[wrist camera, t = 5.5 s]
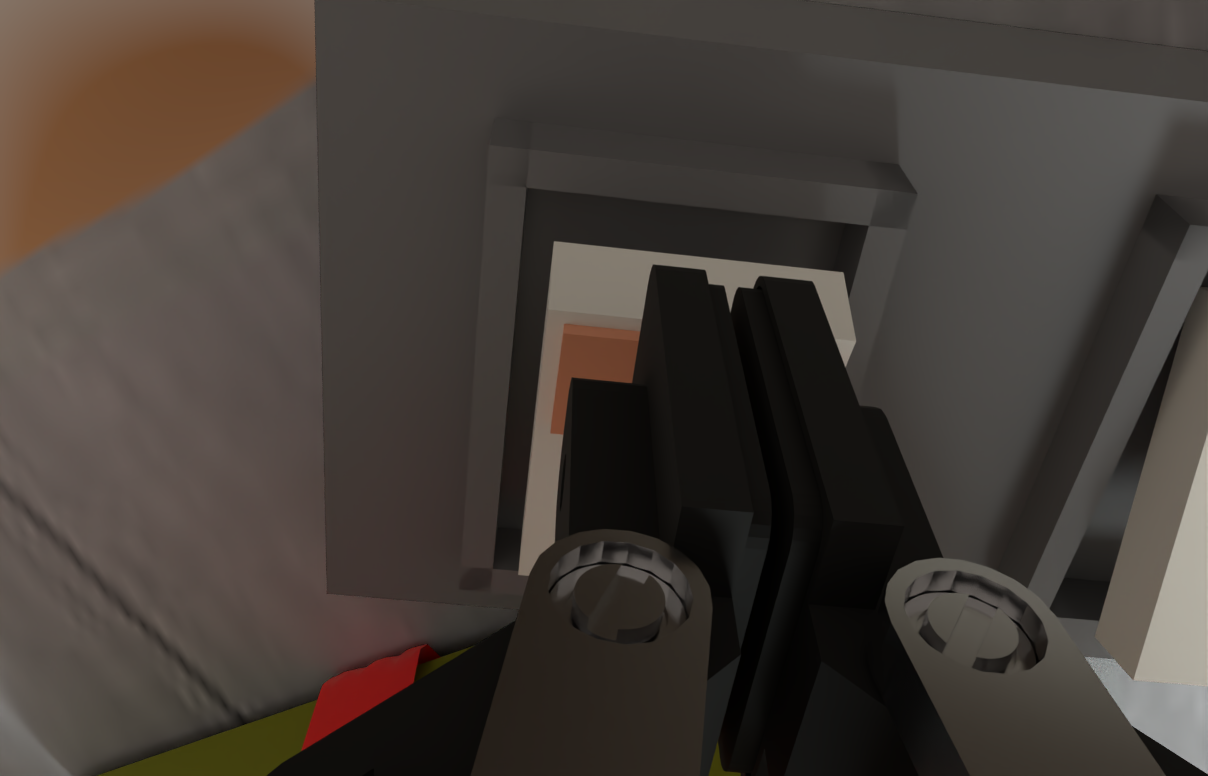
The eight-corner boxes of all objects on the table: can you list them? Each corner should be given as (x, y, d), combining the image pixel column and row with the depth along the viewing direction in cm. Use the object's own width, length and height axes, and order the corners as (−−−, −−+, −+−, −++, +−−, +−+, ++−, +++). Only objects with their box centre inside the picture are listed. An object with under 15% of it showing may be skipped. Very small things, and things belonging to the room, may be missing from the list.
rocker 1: (842, 272, 14) (857, 350, 13) (746, 530, 18) (751, 604, 17) (553, 241, 13) (547, 318, 12) (524, 510, 17) (517, 584, 16)
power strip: (2081, 161, 18) (2426, 270, 15) (1683, 605, 23) (1868, 760, 20) (359, -56, 16) (295, 13, 12) (358, 485, 21) (314, 636, 18)
